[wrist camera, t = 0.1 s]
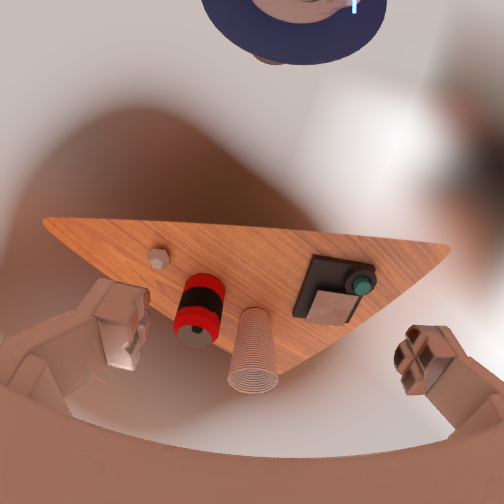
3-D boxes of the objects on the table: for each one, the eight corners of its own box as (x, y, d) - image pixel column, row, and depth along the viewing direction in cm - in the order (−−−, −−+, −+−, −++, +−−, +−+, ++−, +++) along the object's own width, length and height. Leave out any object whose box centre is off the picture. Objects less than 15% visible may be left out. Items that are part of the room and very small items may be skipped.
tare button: (356, 274, 50) (358, 281, 48) (371, 277, 50) (373, 283, 48) (350, 288, 51) (352, 294, 50) (364, 290, 51) (367, 296, 50)
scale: (313, 252, 50) (316, 262, 48) (376, 263, 51) (381, 273, 49) (292, 311, 58) (293, 322, 56) (348, 318, 59) (351, 329, 57)
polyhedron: (148, 256, 52) (143, 267, 49) (154, 240, 50) (148, 250, 47) (168, 265, 53) (164, 276, 50) (174, 249, 51) (170, 260, 48)
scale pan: (317, 289, 51) (318, 290, 51) (358, 294, 52) (358, 296, 51) (304, 320, 55) (304, 322, 55) (342, 324, 56) (343, 326, 56)
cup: (273, 300, 57) (275, 367, 44) (278, 329, 61) (280, 392, 48) (229, 304, 58) (221, 370, 45) (238, 333, 62) (233, 395, 49)
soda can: (229, 279, 54) (223, 328, 44) (219, 307, 58) (211, 355, 48) (189, 267, 53) (174, 315, 43) (182, 297, 57) (168, 344, 47)
